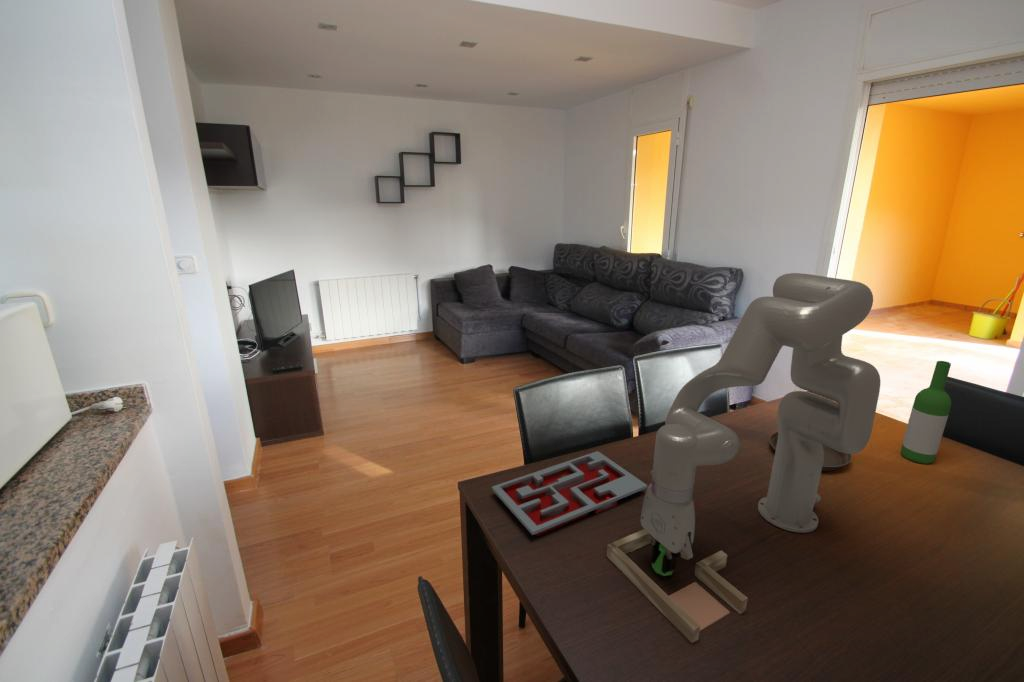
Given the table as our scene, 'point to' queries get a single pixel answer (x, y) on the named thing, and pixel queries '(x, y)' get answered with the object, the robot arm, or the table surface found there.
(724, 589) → the bent track
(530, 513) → the maze game
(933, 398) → the wine bottle
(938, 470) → the table surface
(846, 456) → the plant saucer
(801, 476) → the robot arm
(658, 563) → the game piece
